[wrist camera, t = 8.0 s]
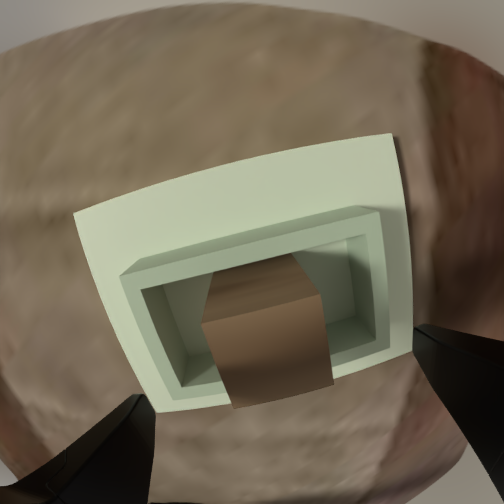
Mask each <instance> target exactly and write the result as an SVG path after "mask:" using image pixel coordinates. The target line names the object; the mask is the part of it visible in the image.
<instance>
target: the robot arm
mask: <svg viewBox="0 0 504 504" xmlns="http://www.w3.org/2000/svg"><path fill="white" fill-rule="evenodd" d="M412 350H413V354H414V356H415V357H416V359H417V361H418V363H419V365H420V366H421V368H422V370H423V372H424V374H425V376H426V378H427V379H428V381H429V383H430V385H431V386H432V388H433V390H434V391H435V392H436V394H437V395H438V397H439V398H440V400H441V401H442V403H443V404H444V406H445V407H446V408H447V410H448V411H449V413H450V414H451V416H452V417H453V419H454V420H455V422H456V423H457V425H458V426H459V428H460V429H461V431H462V433H463V434H464V436H465V437H466V439H467V440H468V442H469V443H470V445H471V446H472V448H473V449H474V451H475V453H476V455H477V456H478V458H479V459H480V461H481V463H482V465H483V466H484V468H485V470H486V471H487V473H488V474H489V476H490V478H491V480H492V482H493V484H494V485H495V487H496V489H497V491H498V492H499V494H500V496H501V498H502V500H503V501H504V341H500V340H495V339H490V338H486V337H481V336H476V335H472V334H467V333H463V332H459V331H454V330H450V329H445V328H441V327H437V326H433V325H428V324H421V325H419V326H417V327H415V328H414V329H413V339H412ZM155 421H156V415H155V411H154V409H153V407H152V406H151V404H150V402H149V401H148V399H147V397H146V396H145V395H144V394H142V393H140V394H133V395H131V396H130V397H129V398H127V399H126V400H125V401H124V402H123V403H121V404H120V405H119V406H118V407H117V408H115V409H114V410H113V411H112V412H110V413H109V414H108V415H107V416H106V417H104V418H103V419H102V420H101V421H99V422H98V423H97V424H96V425H95V426H93V427H92V428H91V429H90V430H88V431H87V432H86V433H85V434H83V435H82V436H81V437H80V438H78V439H77V440H76V441H75V442H73V443H72V444H71V445H70V446H68V447H67V448H66V450H63V451H62V452H61V453H59V454H58V455H57V456H55V457H54V458H53V459H51V460H50V461H49V462H47V463H46V464H44V465H43V466H41V467H40V468H38V469H37V470H35V471H34V472H32V473H30V474H29V475H27V476H26V477H24V478H22V479H21V480H19V481H17V482H16V483H14V484H12V485H8V486H0V504H147V502H148V494H149V487H150V479H151V472H152V465H153V458H154V447H155Z"/></svg>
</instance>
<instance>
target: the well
mask: <svg viewBox="0 0 504 504" xmlns="http://www.w3.org/2000/svg"><path fill="white" fill-rule="evenodd" d="M73 215H74V218H75V222H76V225H77V229H78V232H79V236H80V239H81V242H82V246H83V249H84V252H85V255H86V258H87V261H88V264H89V267H90V270H91V273H92V275H93V278H94V281H95V284H96V286H97V289H98V292H99V294H100V297H101V299H102V302H103V304H104V307H105V309H106V312H107V314H108V317H109V319H110V321H111V324H112V326H113V328H114V331H115V333H116V335H117V337H118V339H119V342H120V344H121V346H122V348H123V350H124V352H125V354H126V356H127V358H128V360H129V362H130V364H131V366H132V368H133V370H134V372H135V374H136V376H137V378H138V380H139V382H140V384H141V386H142V387H143V389H144V391H145V393H146V395H147V396H148V398H149V400H150V402H151V403H152V405H153V407H154V409H155V410H156V412H157V413H160V412H170V411H180V410H188V409H196V408H204V407H210V406H217V405H223V404H229V403H231V401H230V399H229V396H228V394H227V392H226V389H225V387H224V384H223V382H222V379H221V377H220V374H219V372H218V369H217V367H216V364H215V361H214V359H213V356H212V354H211V351H210V348H209V346H208V343H207V340H206V337H205V335H204V332H203V329H202V326H201V320H202V316H203V311H204V307H205V303H206V299H207V295H208V291H209V287H210V283H211V279H212V275H213V272H215V271H219V270H223V269H227V268H231V267H235V266H239V265H243V264H247V263H251V262H255V261H259V260H263V259H267V258H271V257H275V256H279V255H283V254H287V253H291V254H292V255H293V256H294V258H295V259H296V261H297V262H298V263H299V265H300V266H301V268H302V269H303V270H304V272H305V273H306V275H307V276H308V277H309V279H310V280H311V282H312V283H313V284H314V286H315V287H316V289H317V290H318V291H319V293H320V295H321V301H322V307H323V313H324V319H325V325H326V331H327V338H328V344H329V351H330V358H331V365H332V373H333V379H334V378H337V377H341V376H344V375H347V374H350V373H353V372H356V371H359V370H362V369H365V368H368V367H371V366H373V365H376V364H379V363H382V362H384V361H387V360H389V359H392V358H395V357H397V356H400V355H402V354H405V353H407V352H410V351H412V339H413V290H412V269H411V254H410V243H409V232H408V224H407V215H406V208H405V201H404V194H403V188H402V182H401V176H400V171H399V165H398V160H397V156H396V151H395V146H394V142H393V137H392V133H390V134H381V135H374V136H366V137H359V138H353V139H346V140H340V141H334V142H328V143H322V144H317V145H311V146H306V147H301V148H296V149H291V150H286V151H281V152H276V153H272V154H267V155H263V156H258V157H254V158H250V159H245V160H241V161H237V162H233V163H229V164H225V165H221V166H218V167H214V168H210V169H206V170H203V171H199V172H195V173H192V174H188V175H185V176H182V177H178V178H175V179H171V180H168V181H165V182H162V183H158V184H155V185H152V186H149V187H146V188H143V189H140V190H137V191H134V192H131V193H128V194H125V195H122V196H119V197H116V198H114V199H111V200H108V201H105V202H102V203H100V204H97V205H94V206H92V207H89V208H86V209H84V210H81V211H79V212H76V213H74V214H73Z"/></svg>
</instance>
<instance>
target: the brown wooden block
mask: <svg viewBox="0 0 504 504" xmlns="http://www.w3.org/2000/svg"><path fill="white" fill-rule="evenodd" d="M201 326H202V329H203V332H204V335H205V337H206V340H207V343H208V346H209V348H210V351H211V354H212V356H213V359H214V361H215V364H216V367H217V369H218V372H219V374H220V377H221V379H222V382H223V384H224V387H225V389H226V392H227V394H228V396H229V399H230V401H231V404H232V406H233V408H234V409H236V408H241V407H246V406H252V405H256V404H261V403H266V402H270V401H275V400H279V399H283V398H287V397H291V396H295V395H299V394H303V393H307V392H310V391H314V390H318V389H321V388H324V387H328V386H331V385H334V380H333V373H332V365H331V358H330V351H329V344H328V338H327V331H326V325H325V319H324V313H323V307H322V301H321V295H320V293H319V291H318V290H317V289H316V287H315V286H314V284H313V283H312V282H311V280H310V279H309V277H308V276H307V275H306V273H305V272H304V270H303V269H302V268H301V266H300V265H299V263H298V262H297V261H296V259H295V258H294V256H293V255H292V254H291V253H287V254H283V255H279V256H275V257H271V258H267V259H263V260H259V261H255V262H251V263H247V264H243V265H239V266H235V267H231V268H227V269H223V270H219V271H215V272H213V275H212V279H211V283H210V287H209V291H208V295H207V299H206V303H205V307H204V311H203V316H202V320H201Z"/></svg>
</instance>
